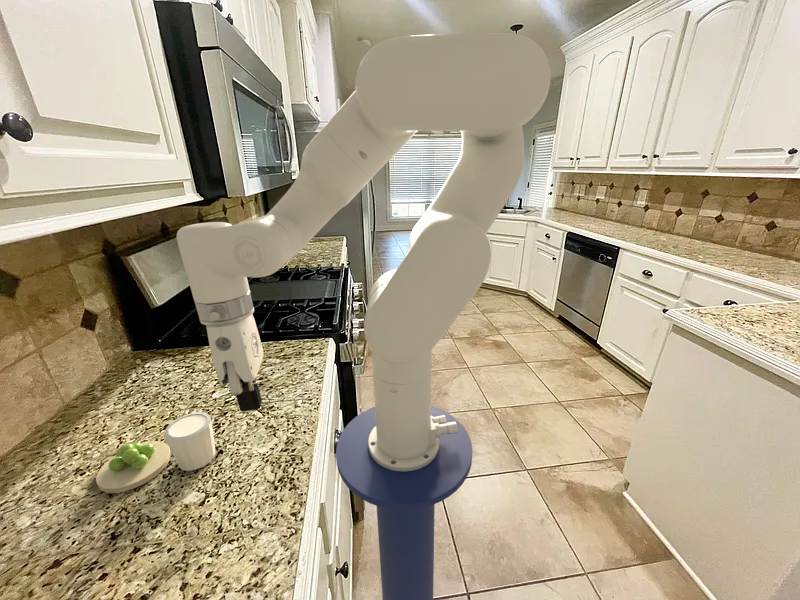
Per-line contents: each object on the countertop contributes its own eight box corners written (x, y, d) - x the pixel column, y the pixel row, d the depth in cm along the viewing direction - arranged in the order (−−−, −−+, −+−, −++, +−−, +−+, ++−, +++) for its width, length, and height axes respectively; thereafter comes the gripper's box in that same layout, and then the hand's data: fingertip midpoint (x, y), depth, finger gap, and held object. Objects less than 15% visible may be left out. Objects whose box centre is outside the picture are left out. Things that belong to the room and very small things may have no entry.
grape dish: (180, 441, 63) (173, 419, 61) (155, 486, 54) (146, 462, 52) (119, 450, 61) (110, 427, 60) (82, 499, 52) (70, 474, 50)
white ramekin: (207, 473, 56) (197, 439, 54) (165, 474, 56) (153, 440, 54) (226, 442, 62) (218, 410, 60) (188, 443, 62) (179, 411, 60)
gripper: (240, 322, 45) (267, 433, 52) (260, 288, 59) (280, 379, 66) (179, 330, 44) (214, 443, 50) (214, 294, 58) (238, 386, 64)
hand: (251, 407), depth 58 cm, fingers closed
